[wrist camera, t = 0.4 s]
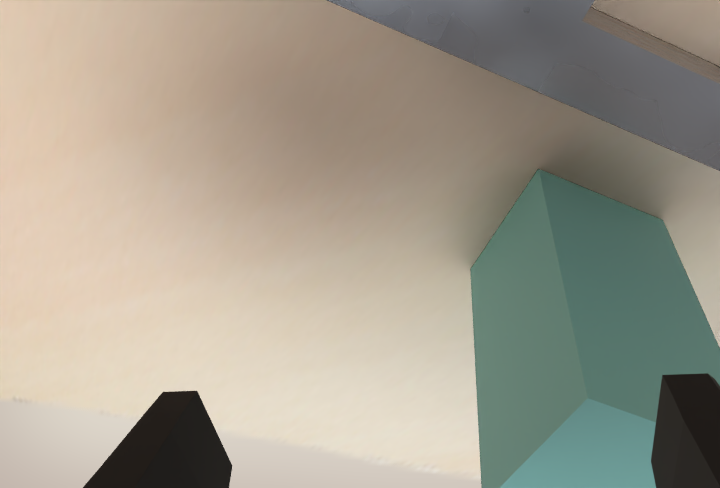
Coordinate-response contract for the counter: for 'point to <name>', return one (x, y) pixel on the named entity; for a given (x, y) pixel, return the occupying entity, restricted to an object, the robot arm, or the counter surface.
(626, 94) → the steel rail
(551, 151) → the counter surface
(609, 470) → the teal peg
